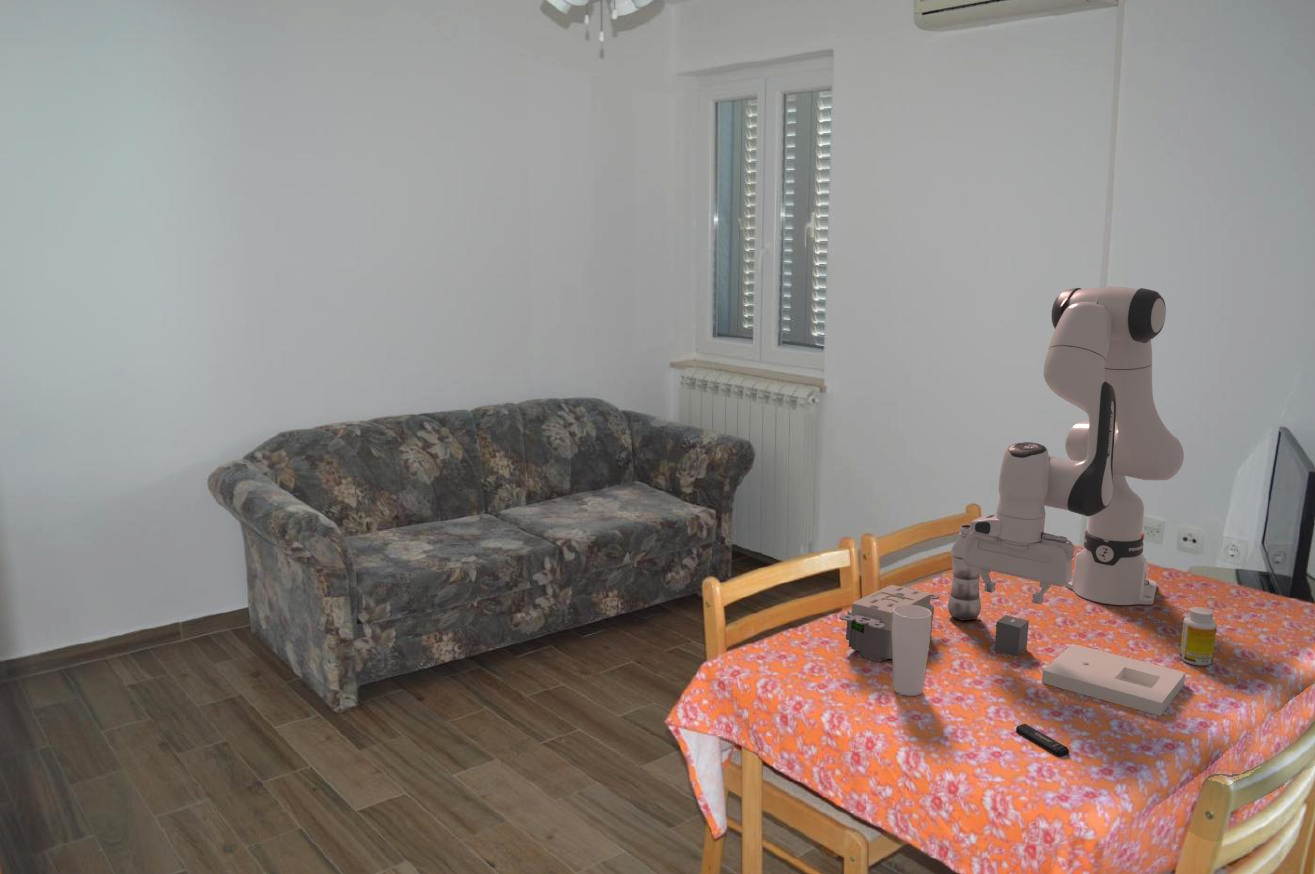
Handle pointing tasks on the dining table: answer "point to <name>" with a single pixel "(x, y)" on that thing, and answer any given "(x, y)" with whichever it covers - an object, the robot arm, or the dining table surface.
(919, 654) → the drinking glass
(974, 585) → the plastic bottle
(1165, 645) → the dining table surface
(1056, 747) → the usb stick
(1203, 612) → the supplement bottle
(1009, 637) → the block
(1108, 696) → the outlet plate
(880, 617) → the electrical outlet
